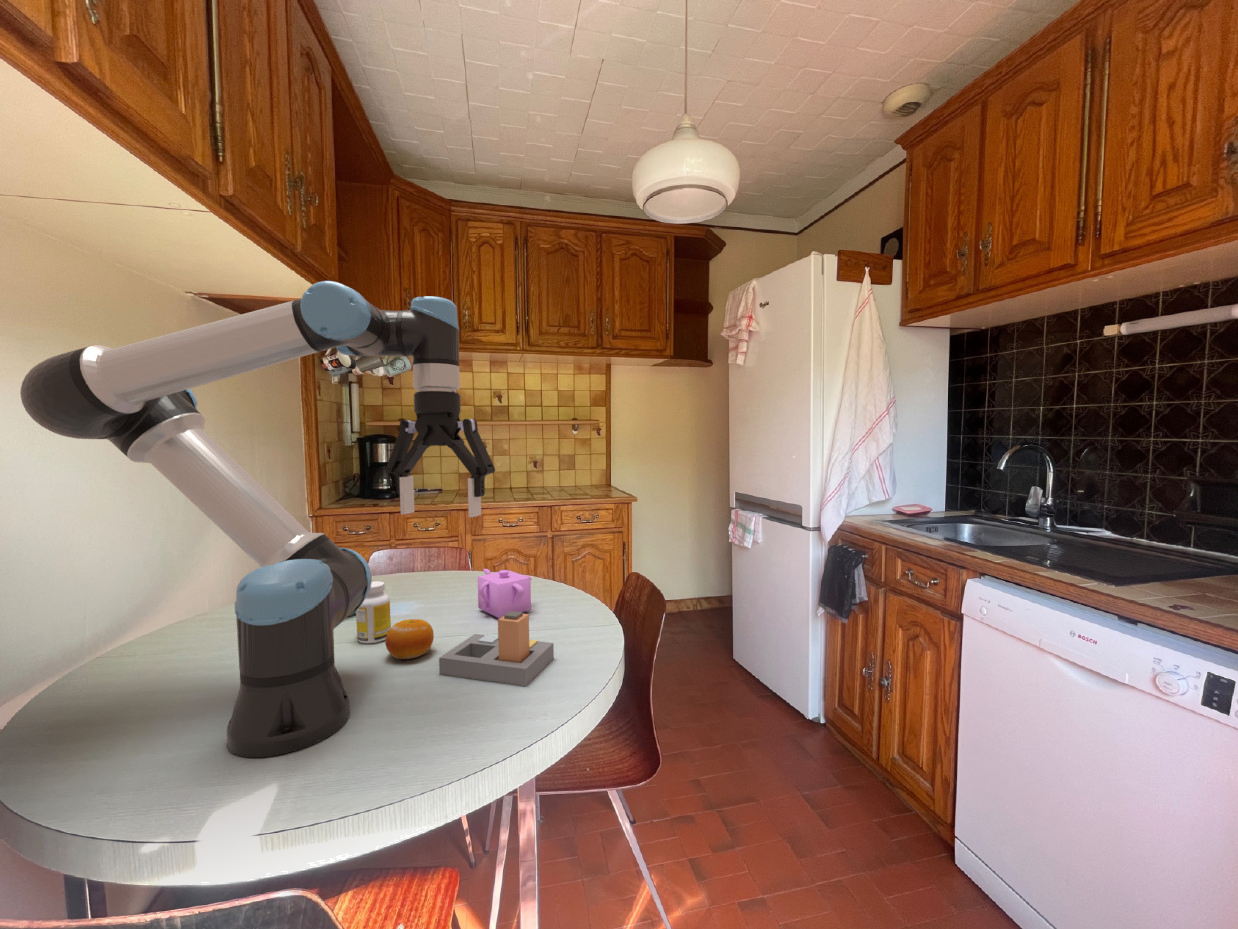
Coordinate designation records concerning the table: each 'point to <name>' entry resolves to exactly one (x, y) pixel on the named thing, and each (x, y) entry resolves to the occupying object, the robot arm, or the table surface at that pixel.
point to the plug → (513, 637)
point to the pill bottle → (374, 615)
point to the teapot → (504, 592)
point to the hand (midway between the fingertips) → (440, 514)
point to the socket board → (494, 661)
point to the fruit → (409, 638)
